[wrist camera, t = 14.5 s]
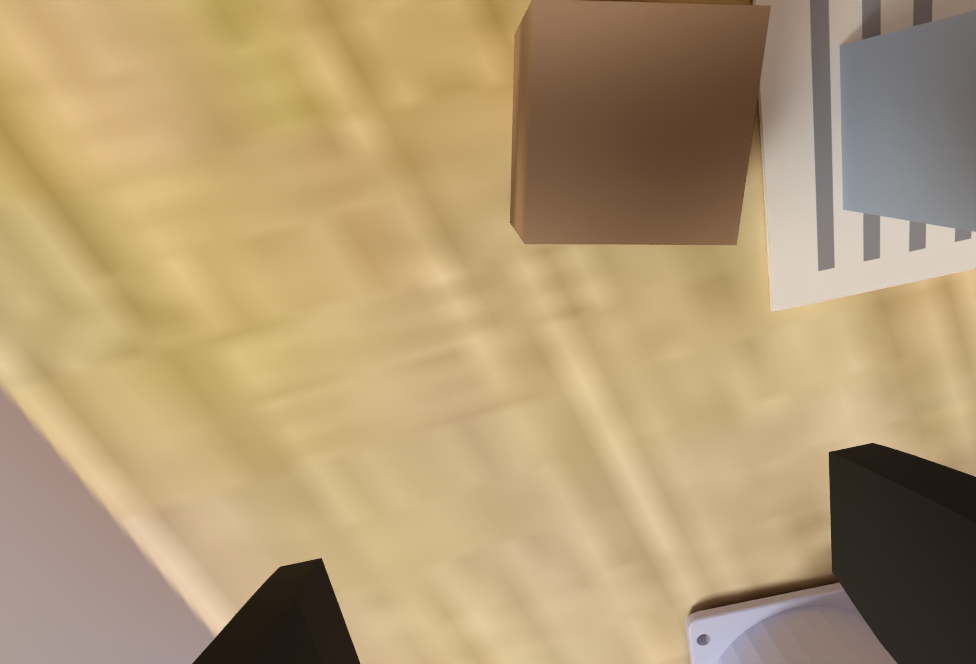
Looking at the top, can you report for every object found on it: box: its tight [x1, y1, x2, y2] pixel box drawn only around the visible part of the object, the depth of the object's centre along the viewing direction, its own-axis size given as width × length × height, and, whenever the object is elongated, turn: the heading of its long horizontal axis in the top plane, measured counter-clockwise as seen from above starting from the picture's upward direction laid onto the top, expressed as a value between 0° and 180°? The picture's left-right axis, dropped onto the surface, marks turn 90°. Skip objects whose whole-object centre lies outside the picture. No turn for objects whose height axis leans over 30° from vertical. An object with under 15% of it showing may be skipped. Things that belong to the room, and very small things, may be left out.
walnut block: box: [510, 0, 771, 245], centre depth 15 cm, size 5×5×4 cm
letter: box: [752, 0, 976, 312], centre depth 16 cm, size 12×9×1 cm
